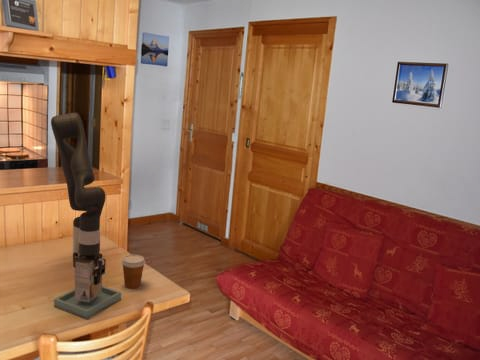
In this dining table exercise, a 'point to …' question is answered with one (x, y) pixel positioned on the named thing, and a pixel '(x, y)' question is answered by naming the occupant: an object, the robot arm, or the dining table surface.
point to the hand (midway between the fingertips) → (88, 281)
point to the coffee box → (86, 279)
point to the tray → (87, 303)
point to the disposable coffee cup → (133, 270)
